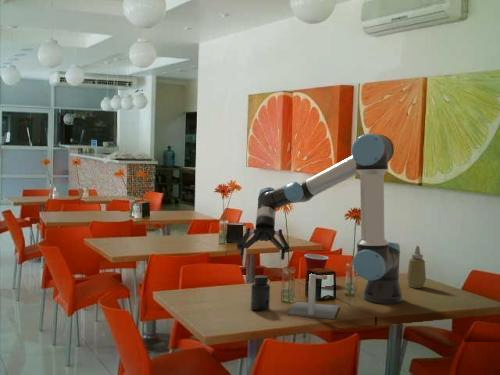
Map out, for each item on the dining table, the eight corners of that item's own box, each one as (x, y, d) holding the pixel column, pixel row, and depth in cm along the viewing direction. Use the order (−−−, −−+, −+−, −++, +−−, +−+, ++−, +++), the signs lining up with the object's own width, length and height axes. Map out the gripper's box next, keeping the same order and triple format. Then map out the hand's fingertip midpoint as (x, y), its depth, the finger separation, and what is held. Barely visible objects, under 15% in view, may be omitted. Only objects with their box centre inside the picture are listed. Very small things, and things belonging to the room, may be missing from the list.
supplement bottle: (266, 306, 221) (267, 274, 220) (271, 311, 214) (272, 278, 214) (248, 307, 219) (249, 274, 218) (253, 312, 212) (254, 278, 212)
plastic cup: (329, 285, 260) (330, 257, 260) (304, 284, 260) (305, 257, 260) (326, 280, 271) (327, 253, 270) (302, 279, 271) (303, 252, 271)
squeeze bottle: (405, 288, 259) (407, 246, 258) (406, 284, 267) (408, 244, 266) (425, 289, 257) (427, 248, 256) (425, 286, 264) (427, 245, 263)
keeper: (338, 307, 222) (340, 268, 221) (333, 319, 206) (335, 276, 205) (296, 303, 226) (297, 265, 225) (288, 314, 210) (289, 273, 209)
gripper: (296, 227, 241) (294, 272, 227) (235, 225, 244) (229, 269, 230) (296, 216, 236) (295, 260, 222) (234, 213, 238) (228, 257, 224)
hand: (261, 265), depth 226 cm, fingers open, 13 cm apart
